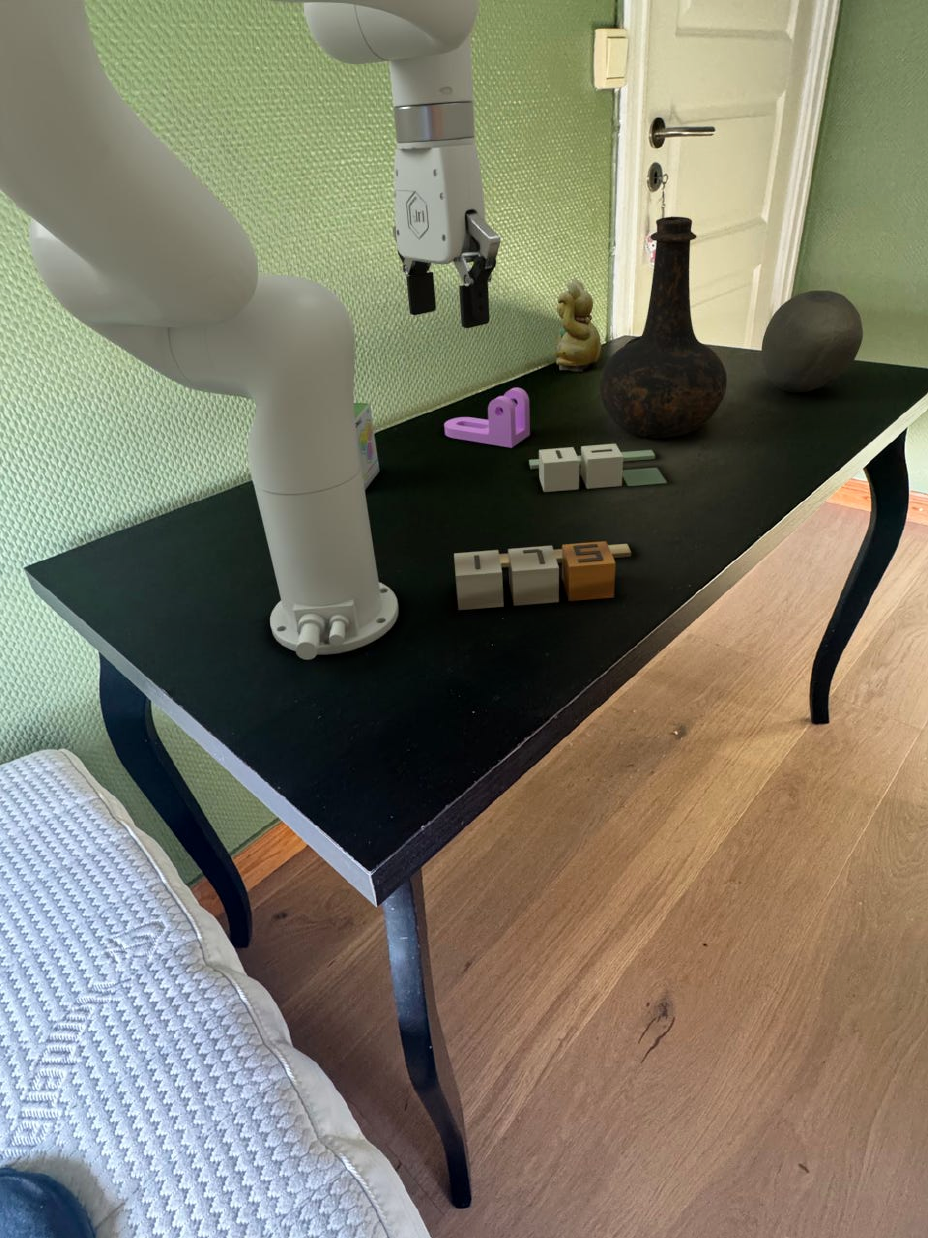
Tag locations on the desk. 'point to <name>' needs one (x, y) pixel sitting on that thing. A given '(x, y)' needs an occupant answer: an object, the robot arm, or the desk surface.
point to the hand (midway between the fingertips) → (448, 318)
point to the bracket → (496, 422)
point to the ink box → (366, 442)
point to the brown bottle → (665, 353)
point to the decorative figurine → (576, 329)
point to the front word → (512, 575)
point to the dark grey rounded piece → (811, 340)
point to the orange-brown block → (588, 571)
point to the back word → (592, 468)
